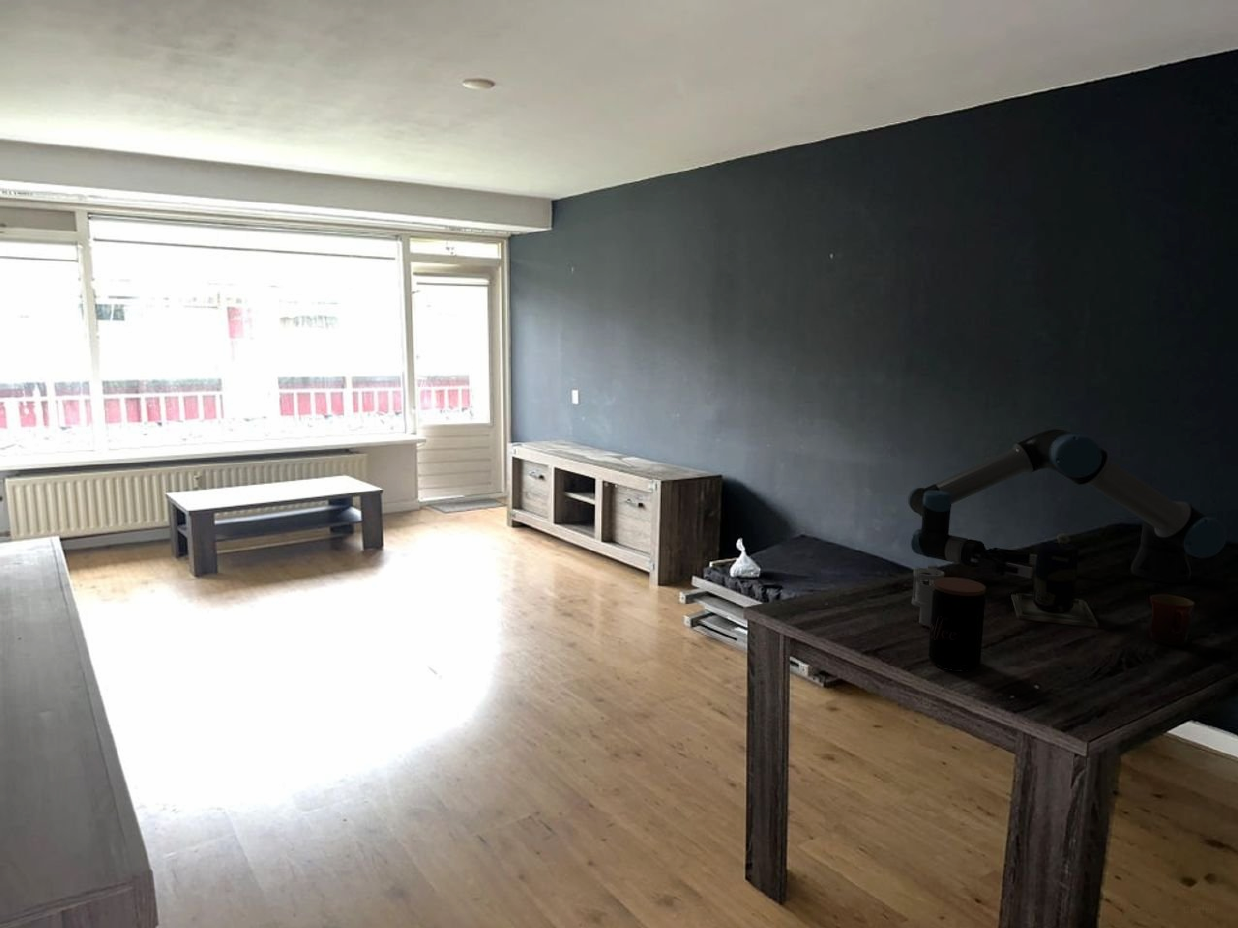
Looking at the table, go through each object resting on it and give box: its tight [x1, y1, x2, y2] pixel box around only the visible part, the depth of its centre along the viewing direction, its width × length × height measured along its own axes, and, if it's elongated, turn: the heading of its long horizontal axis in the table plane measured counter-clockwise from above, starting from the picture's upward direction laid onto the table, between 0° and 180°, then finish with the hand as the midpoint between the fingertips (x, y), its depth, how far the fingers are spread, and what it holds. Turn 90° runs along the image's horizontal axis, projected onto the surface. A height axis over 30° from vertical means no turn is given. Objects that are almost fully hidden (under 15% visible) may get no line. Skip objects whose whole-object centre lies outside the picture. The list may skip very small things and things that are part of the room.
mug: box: [1149, 593, 1196, 647], centre depth 191 cm, size 12×9×10 cm
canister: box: [1032, 540, 1079, 612], centre depth 212 cm, size 10×10×18 cm
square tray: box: [1011, 592, 1099, 629], centre depth 214 cm, size 18×18×2 cm
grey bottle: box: [911, 564, 945, 626], centre depth 202 cm, size 7×7×15 cm
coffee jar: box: [927, 576, 987, 672], centre depth 179 cm, size 11×11×18 cm
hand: (1043, 568), depth 214 cm, fingers open, 13 cm apart
